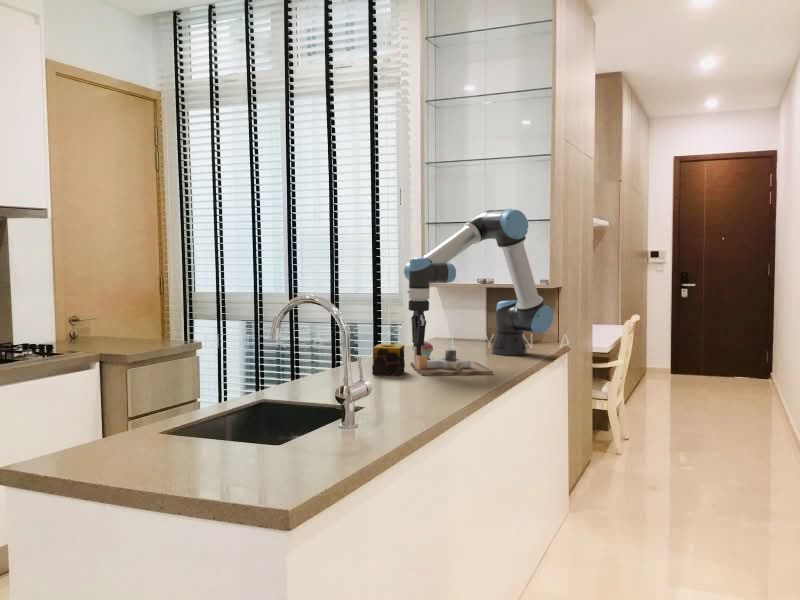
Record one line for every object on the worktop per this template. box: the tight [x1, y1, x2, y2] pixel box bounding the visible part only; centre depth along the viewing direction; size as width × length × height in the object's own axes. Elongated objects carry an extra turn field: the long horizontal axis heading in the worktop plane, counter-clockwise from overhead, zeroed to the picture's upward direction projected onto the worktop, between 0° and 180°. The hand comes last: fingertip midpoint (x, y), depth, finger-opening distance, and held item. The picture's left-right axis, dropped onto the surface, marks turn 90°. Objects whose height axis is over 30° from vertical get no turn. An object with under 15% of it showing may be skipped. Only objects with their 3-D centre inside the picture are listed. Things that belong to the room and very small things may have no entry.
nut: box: [415, 354, 472, 369], centre depth 267 cm, size 20×11×5 cm, turn 117°
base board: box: [410, 349, 494, 376], centre depth 269 cm, size 26×22×7 cm
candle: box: [371, 343, 406, 377], centre depth 260 cm, size 10×10×10 cm
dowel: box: [456, 362, 462, 371], centre depth 261 cm, size 2×2×3 cm
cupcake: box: [411, 341, 434, 360], centre depth 295 cm, size 9×8×12 cm
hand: (417, 363), depth 267 cm, fingers closed
